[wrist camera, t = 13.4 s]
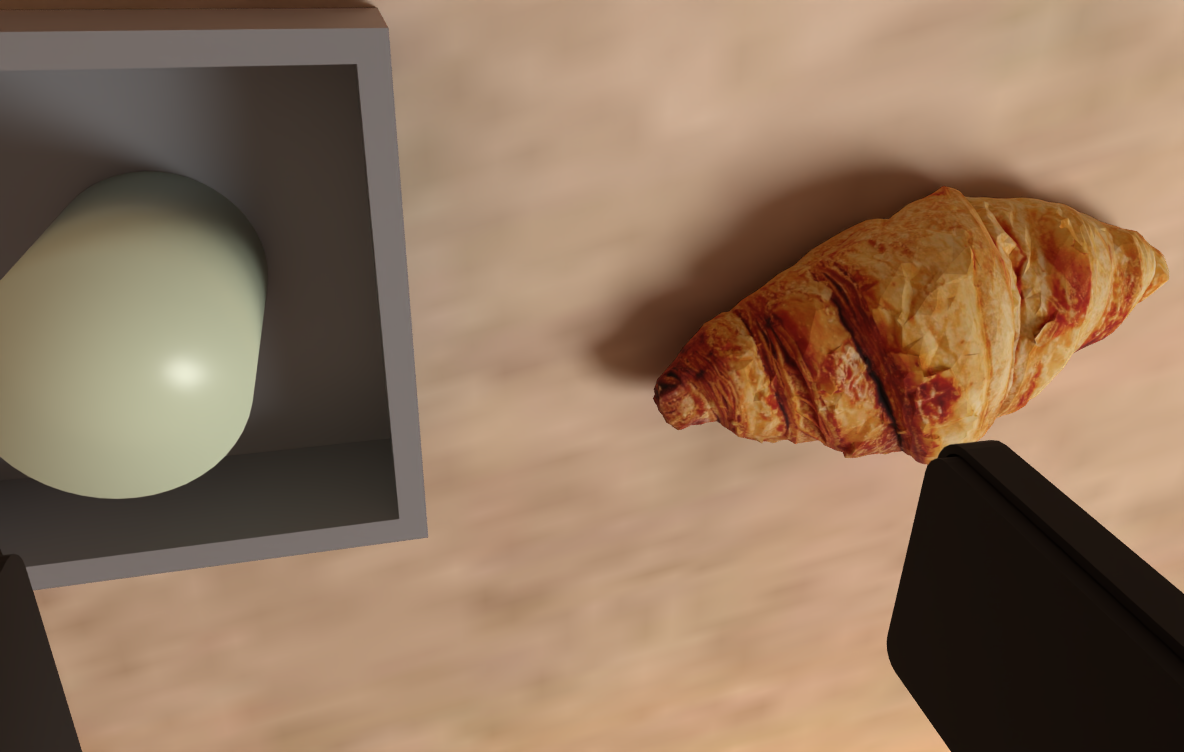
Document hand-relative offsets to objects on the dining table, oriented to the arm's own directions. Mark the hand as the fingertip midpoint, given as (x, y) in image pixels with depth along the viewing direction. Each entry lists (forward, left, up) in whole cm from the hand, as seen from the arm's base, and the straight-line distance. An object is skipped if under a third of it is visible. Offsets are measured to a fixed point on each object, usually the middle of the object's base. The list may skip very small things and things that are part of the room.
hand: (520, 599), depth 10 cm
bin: (+3, -7, -22) cm, 23 cm away
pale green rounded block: (+3, -7, -21) cm, 22 cm away
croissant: (+7, +19, -23) cm, 30 cm away
